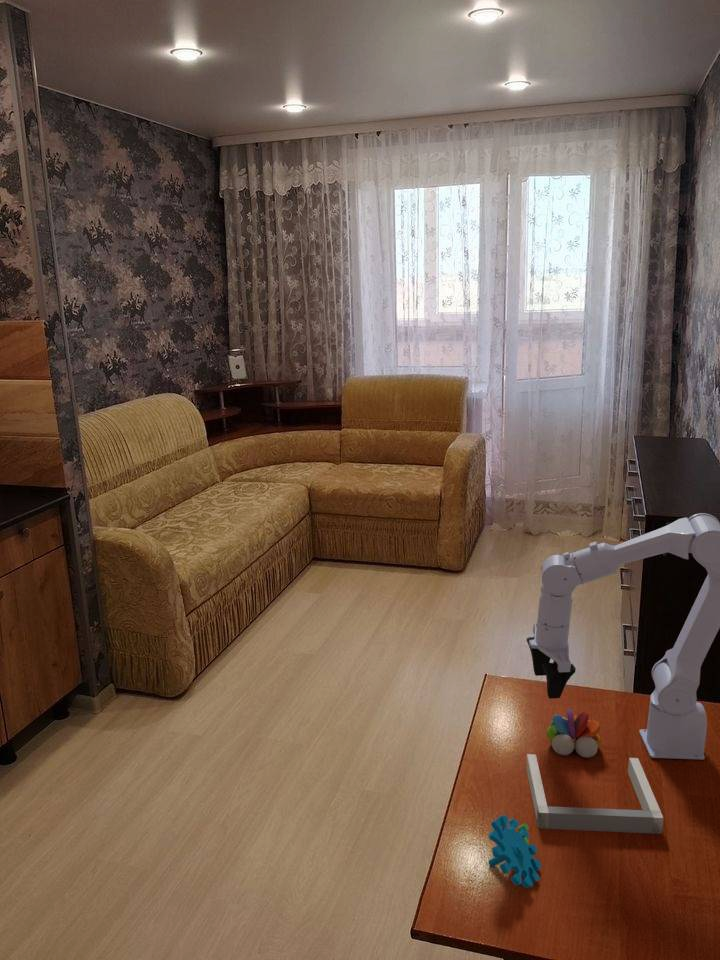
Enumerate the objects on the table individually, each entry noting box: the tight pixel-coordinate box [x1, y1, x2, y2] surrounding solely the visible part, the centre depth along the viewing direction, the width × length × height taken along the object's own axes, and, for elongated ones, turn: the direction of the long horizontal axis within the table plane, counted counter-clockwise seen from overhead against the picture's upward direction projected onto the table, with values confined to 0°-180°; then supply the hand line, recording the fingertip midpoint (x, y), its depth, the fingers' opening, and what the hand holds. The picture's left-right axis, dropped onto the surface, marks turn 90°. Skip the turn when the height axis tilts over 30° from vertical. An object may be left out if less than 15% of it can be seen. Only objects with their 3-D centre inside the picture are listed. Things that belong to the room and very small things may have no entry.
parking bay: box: [525, 753, 664, 835], centre depth 124 cm, size 19×14×3 cm
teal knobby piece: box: [488, 814, 542, 889], centre depth 111 cm, size 11×6×10 cm
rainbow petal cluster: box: [546, 709, 602, 759], centre depth 137 cm, size 8×10×7 cm
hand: (546, 685), depth 140 cm, fingers open, 7 cm apart
